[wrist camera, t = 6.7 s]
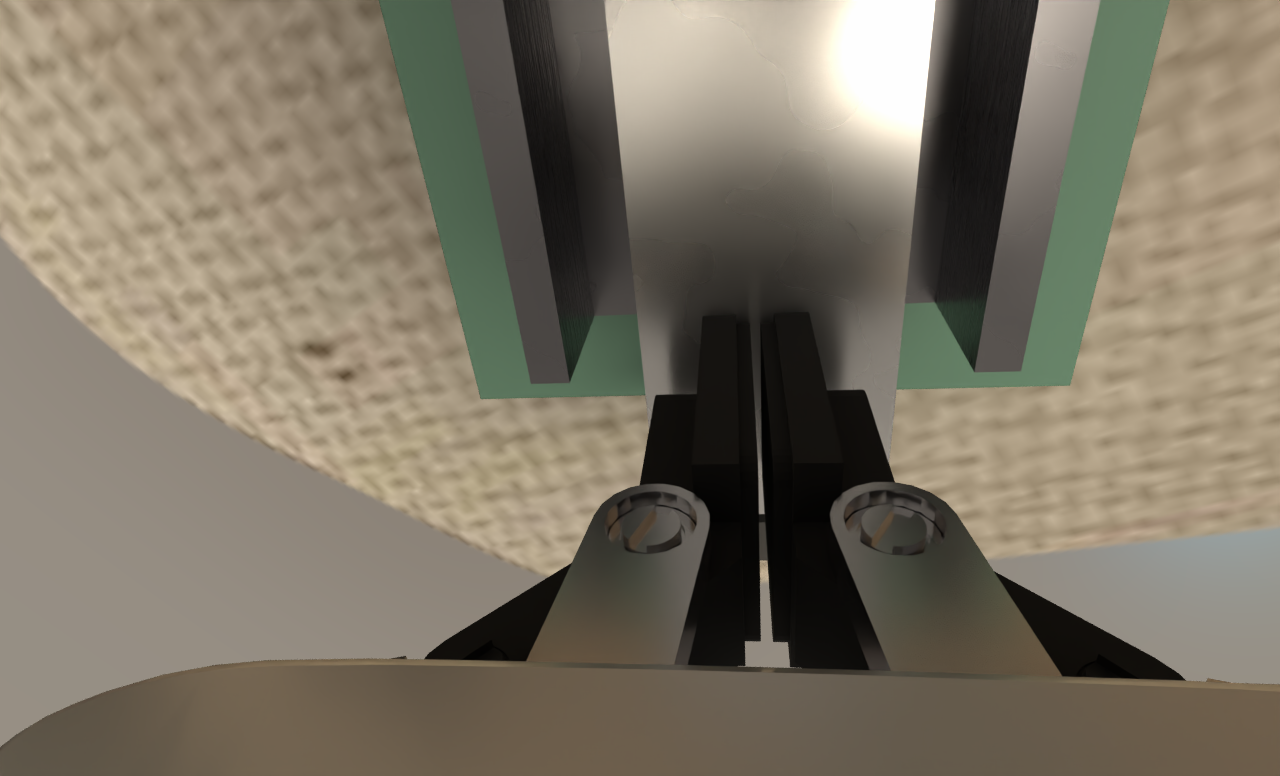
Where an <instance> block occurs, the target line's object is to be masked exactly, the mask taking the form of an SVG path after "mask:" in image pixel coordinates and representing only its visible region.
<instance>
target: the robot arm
mask: <svg viewBox="0 0 1280 776" xmlns="http://www.w3.org/2000/svg"><path fill="white" fill-rule="evenodd" d="M760 347H761V446H762V483H763V498H764V513H765V528H766V544H767V559H768V574H769V589H770V604H771V619H772V634H773V642H788V647H789V659H790V667H796V668H771V667H769V668H768V667H738V666H745V641H761V635H760V633H761V631H760V554H759V480H758V452H757V435H756V418H755V401H754V384H753V367H752V350H751V333H750V323H739V324H736V315H717V316H703V317H702V329H701V342H700V356H699V369H698V383H697V394H663V395H656V396H655V399H654V405H653V410H652V416H651V422H650V428H649V434H648V440H647V446H646V451H645V457H644V463H643V469H642V475H641V481H640V486H635V487H630V488H628V489H626V490H623V491H621V492H619V493H616V494H614V495H613V496H612V497H610V498H609V499H608V500H606V501H605V502H604V503H603V504H602V505H601V506H600V508H599V509H598V510H597V512H596V513H595V515H594V517H593V519H592V521H591V523H590V525H589V527H588V530H587V532H586V534H585V536H584V538H583V540H582V542H581V545H580V547H579V549H578V551H577V553H576V555H575V558H574V560H573V562H572V563H571V564H569V565H568V566H566V567H564V568H563V569H561V570H559V571H558V572H556V573H555V574H553V575H551V576H550V577H548V578H546V579H545V580H543V581H542V582H540V583H538V584H537V585H535V586H533V587H532V588H530V589H529V590H527V591H525V592H524V593H522V594H520V595H519V596H517V597H516V598H514V599H512V600H511V601H509V602H508V603H506V604H504V605H502V606H501V607H499V608H498V609H496V610H494V611H493V612H491V613H489V614H488V615H486V616H485V617H483V618H481V619H480V620H478V621H477V622H475V623H473V624H471V625H470V626H468V627H467V628H465V629H463V630H462V631H460V632H459V633H457V634H455V635H454V636H452V637H450V638H449V639H447V640H446V641H444V642H443V643H442V644H440V645H439V646H438V647H436V648H435V649H434V650H433V651H431V652H430V653H429V654H428V655H427V656H426V657H425V659H407V657H406V656H403V657H397V658H391V659H369V658H368V659H312V660H311V659H308V660H307V659H306V660H264V661H253V662H242V663H232V664H221V665H220V664H219V665H212V666H207V667H202V668H196V669H190V670H185V671H180V672H174V673H170V674H163V675H160V676H157V677H154V678H150V679H146V680H143V681H140V682H136V683H133V684H130V685H126V686H123V687H119V688H116V689H112V690H109V691H106V692H103V693H101V694H98V695H95V696H93V697H91V698H88V699H85V700H83V701H80V702H77V703H75V704H72V705H70V706H68V707H66V708H64V709H62V710H59V711H57V712H55V713H53V714H50V715H48V716H46V717H44V718H42V719H41V720H39V721H38V722H36V723H34V724H33V725H31V726H30V727H28V728H26V729H24V730H23V731H21V732H20V733H18V734H16V735H15V736H14V737H12V738H11V739H10V740H9V741H7V742H6V743H5V744H3V745H2V746H1V747H0V776H1280V684H1249V683H1230V682H1225V681H1220V680H1214V679H1209V678H1208V679H1207V681H1206V682H1201V681H1186V680H1185V679H1184V678H1183V677H1182V676H1181V675H1180V674H1179V673H1177V672H1176V671H1174V670H1172V669H1171V668H1169V667H1168V666H1166V665H1165V664H1163V663H1162V662H1160V661H1159V660H1157V659H1156V658H1154V657H1152V656H1150V655H1149V654H1147V653H1145V652H1143V651H1141V650H1139V649H1137V648H1136V647H1134V646H1132V645H1130V644H1128V643H1126V642H1124V641H1122V640H1121V639H1119V638H1117V637H1115V636H1113V635H1111V634H1109V633H1107V632H1106V631H1104V630H1102V629H1100V628H1098V627H1096V626H1094V625H1093V624H1091V623H1089V622H1087V621H1085V620H1083V619H1082V618H1080V617H1077V616H1076V615H1074V614H1072V613H1070V612H1069V611H1067V610H1065V609H1063V608H1061V607H1059V606H1057V605H1056V604H1054V603H1052V602H1050V601H1048V600H1046V599H1044V598H1042V597H1041V596H1039V595H1037V594H1035V593H1033V592H1031V591H1030V590H1028V589H1025V588H1024V587H1022V586H1020V585H1018V584H1017V583H1015V582H1013V581H1011V580H1009V579H1007V578H1005V577H1004V576H1002V575H1000V574H998V573H996V572H994V571H993V569H992V568H991V566H990V565H989V563H988V562H987V560H986V559H985V557H984V555H983V554H982V552H981V551H980V549H979V548H978V546H977V545H976V543H975V542H974V540H973V539H972V537H971V536H970V534H969V533H968V531H967V529H966V528H965V526H964V525H963V523H962V522H961V520H960V519H959V517H958V516H957V514H956V513H955V512H954V511H953V510H952V509H951V508H950V507H949V505H948V504H947V503H946V502H944V501H943V500H941V499H940V498H938V497H937V496H935V495H933V494H932V493H930V492H928V491H925V490H922V489H920V488H917V487H914V486H912V485H906V484H901V483H895V481H894V478H893V475H892V472H891V469H890V466H889V463H888V459H887V456H886V453H885V450H884V447H883V444H882V441H881V438H880V435H879V431H878V428H877V425H876V422H875V419H874V416H873V413H872V410H871V406H870V403H869V400H868V397H867V394H866V392H865V390H863V389H857V390H827V388H826V383H825V379H824V375H823V370H822V366H821V362H820V357H819V353H818V349H817V344H816V340H815V336H814V331H813V327H812V323H811V319H810V314H809V312H790V313H774V316H773V322H765V323H760ZM798 667H799V668H798Z"/></svg>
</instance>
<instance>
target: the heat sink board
mask: <svg viewBox="0 0 1280 776" xmlns="http://www.w3.org/2000/svg"><path fill="white" fill-rule="evenodd" d="M1169 1H1170V0H935V6H934V16H933V26H932V36H931V46H930V56H929V66H928V76H927V86H926V97H925V107H924V117H923V127H922V137H921V147H920V157H919V167H918V177H917V187H916V197H915V207H914V217H913V227H912V237H911V247H910V257H909V267H908V277H907V287H906V297H905V307H904V317H903V327H902V338H901V348H900V358H899V368H898V378H897V388H896V389H937V388H981V387H1024V386H1068V385H1070V383H1071V379H1072V376H1073V372H1074V368H1075V364H1076V360H1077V356H1078V352H1079V349H1080V345H1081V341H1082V337H1083V333H1084V329H1085V325H1086V321H1087V318H1088V314H1089V310H1090V306H1091V302H1092V298H1093V294H1094V291H1095V287H1096V283H1097V279H1098V275H1099V271H1100V267H1101V264H1102V260H1103V256H1104V252H1105V248H1106V244H1107V240H1108V236H1109V233H1110V229H1111V225H1112V221H1113V217H1114V213H1115V209H1116V206H1117V202H1118V198H1119V194H1120V190H1121V186H1122V182H1123V179H1124V175H1125V171H1126V167H1127V163H1128V159H1129V155H1130V151H1131V148H1132V144H1133V140H1134V136H1135V132H1136V128H1137V124H1138V121H1139V117H1140V113H1141V109H1142V105H1143V101H1144V97H1145V94H1146V90H1147V86H1148V82H1149V78H1150V74H1151V70H1152V66H1153V63H1154V59H1155V55H1156V51H1157V47H1158V43H1159V39H1160V36H1161V32H1162V28H1163V24H1164V20H1165V16H1166V12H1167V9H1168V5H1169ZM379 3H380V7H381V10H382V14H383V18H384V22H385V26H386V30H387V34H388V38H389V42H390V46H391V50H392V53H393V57H394V61H395V65H396V69H397V73H398V77H399V81H400V85H401V89H402V93H403V97H404V100H405V104H406V108H407V112H408V116H409V120H410V124H411V128H412V132H413V136H414V140H415V143H416V147H417V151H418V155H419V159H420V163H421V167H422V171H423V175H424V179H425V183H426V186H427V190H428V194H429V198H430V202H431V206H432V210H433V214H434V218H435V222H436V226H437V229H438V233H439V237H440V241H441V245H442V249H443V253H444V257H445V261H446V265H447V269H448V272H449V276H450V280H451V284H452V288H453V292H454V296H455V300H456V304H457V308H458V312H459V315H460V319H461V323H462V327H463V331H464V335H465V339H466V343H467V347H468V351H469V355H470V358H471V362H472V366H473V370H474V374H475V378H476V382H477V386H478V390H479V394H480V398H481V399H503V398H547V397H590V396H633V395H645V385H644V376H643V366H642V356H641V347H640V337H639V328H638V318H637V309H636V299H635V290H634V280H633V271H632V261H631V252H630V242H629V233H628V223H627V213H626V204H625V194H624V185H623V175H622V166H621V156H620V147H619V137H618V128H617V118H616V109H615V99H614V90H613V80H612V71H611V61H610V51H609V42H608V32H607V23H606V13H605V4H604V0H379ZM759 554H760V560H768V559H767V544H766V528H765V514H759Z"/></svg>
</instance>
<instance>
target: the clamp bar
mask: <svg viewBox="0 0 1280 776" xmlns="http://www.w3.org/2000/svg"><path fill="white" fill-rule="evenodd" d="M604 4H605V13H606V23H607V32H608V42H609V51H610V61H611V71H612V80H613V90H614V99H615V109H616V118H617V128H618V137H619V147H620V156H621V166H622V175H623V185H624V194H625V204H626V213H627V223H628V233H629V242H630V252H631V261H632V271H633V280H634V290H635V299H636V309H637V318H638V328H639V337H640V347H641V356H642V366H643V376H644V385H645V395H646V404H647V414H648V423H649V428H650V422H651V416H652V410H653V405H654V399H655V396H656V395H663V394H697V383H698V369H699V356H700V342H701V329H702V317H703V316H717V315H736V324H739V323H750V333H751V350H752V367H753V384H754V401H755V418H756V435H757V452H758V480H759V514H765V513H764V498H763V483H762V446H761V347H760V323H765V322H773V316H774V313H790V312H809V314H810V319H811V323H812V327H813V331H814V336H815V340H816V344H817V349H818V353H819V357H820V362H821V366H822V370H823V375H824V379H825V383H826V388H827V390H857V389H863V390H865V392H866V394H867V397H868V400H869V403H870V406H871V410H872V413H873V416H874V419H875V422H876V425H877V428H878V431H879V435H880V438H881V441H882V444H883V447H884V450H885V453H886V456H887V459H888V463H889V458H890V448H891V438H892V428H893V418H894V408H895V398H896V388H897V378H898V368H899V358H900V348H901V338H902V327H903V317H904V307H905V297H906V287H907V277H908V267H909V257H910V247H911V237H912V227H913V217H914V207H915V197H916V187H917V177H918V167H919V157H920V147H921V137H922V127H923V117H924V107H925V97H926V86H927V76H928V66H929V56H930V46H931V36H932V26H933V16H934V6H935V0H604Z"/></svg>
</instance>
